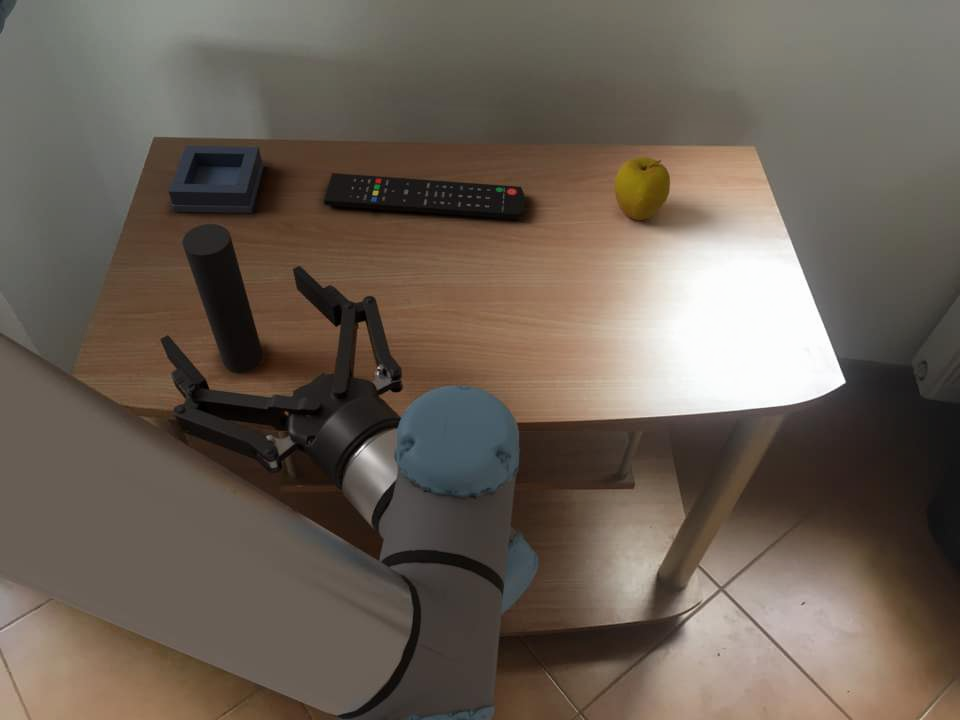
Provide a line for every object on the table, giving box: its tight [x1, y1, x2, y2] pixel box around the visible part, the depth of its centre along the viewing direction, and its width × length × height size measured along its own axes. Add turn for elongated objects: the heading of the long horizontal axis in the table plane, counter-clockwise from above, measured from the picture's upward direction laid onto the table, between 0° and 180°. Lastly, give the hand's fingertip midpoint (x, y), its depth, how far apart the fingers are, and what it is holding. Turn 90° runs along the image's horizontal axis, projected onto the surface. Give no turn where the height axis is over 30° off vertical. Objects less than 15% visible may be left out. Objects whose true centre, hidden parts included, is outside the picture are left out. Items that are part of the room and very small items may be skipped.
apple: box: [614, 157, 671, 221], centre depth 93 cm, size 6×6×8 cm
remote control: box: [323, 172, 526, 220], centre depth 96 cm, size 5×24×1 cm, turn 86°
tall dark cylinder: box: [181, 223, 264, 374], centre depth 73 cm, size 4×4×16 cm
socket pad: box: [168, 144, 265, 214], centre depth 95 cm, size 9×9×3 cm
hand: (235, 310), depth 72 cm, fingers open, 13 cm apart
